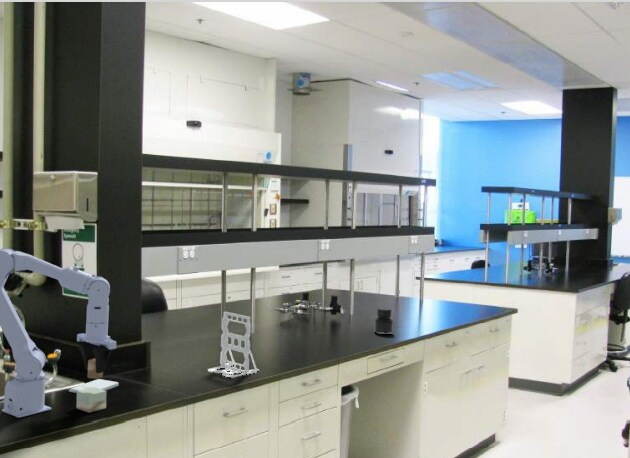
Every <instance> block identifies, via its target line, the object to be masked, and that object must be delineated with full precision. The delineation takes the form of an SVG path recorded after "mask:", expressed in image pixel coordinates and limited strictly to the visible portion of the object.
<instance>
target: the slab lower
mask: <svg viewBox="0 0 630 458" xmlns="http://www.w3.org/2000/svg"><path fill="white" fill-rule="evenodd" d="M75 408H76V409H77V410H81V411H83V412H87V413H92V412H97V411H101V410H104V409H106V408H107V399H106V400H104V401H100V402H96V403H92V404H86V403H83V402H81V401H78V400H77V399H76V407H75Z"/></svg>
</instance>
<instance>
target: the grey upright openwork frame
mask: <svg viewBox="0 0 630 458" xmlns="http://www.w3.org/2000/svg"><path fill="white" fill-rule="evenodd" d="M222 314H223V317H222V318H221V331H222V334H221V335H220V347H221V351H220V354H219V355H220V357H219V364H220V365H219V366H215V367H211V368H207V370H208V371H207V372H208V373H211V374H217V373H218V374H221V373H222V377H224V376H225V377H224V378H227V377H231V378H230V379H235V378H238V376H239V377H242V375H243V376H250V375H249V374H251V375H254V374H253V373H255V374H257V373H258V372H257V371H259V372H260V369H258V368H257V365H256V361H255V360H254V355H253V353H252V351H251V341H250V337H251V332H252V331H251V330H252V329H251V327H252V324H251V316H248V315H243V314H239V313H238V314H237V313H234V312H229V311H223V313H222ZM228 316H230V317H231V318H229V317H228ZM233 317H235V319H233ZM239 318H240V319H241V320H239ZM244 320H246V322H245V321H244ZM230 322H234V323H236V324H237V323H239V324H243V325H244V328H245V330H246V331H245V333H244V334H243V335H240V334H236V333H232V332H229V328H228V326H229V323H230ZM229 338H230V339H231V340H230V341H231V342H230V344H229ZM235 340H237V345H235ZM243 341H244V347H242V342H243ZM232 351H235V352H239V353H243V354H242V355H243V356H244V361H243V363H242V364H241V363H237V362H236V361H235V359H234V355H233V353H232ZM227 353H229V356H230V358H231V360H228V356H227ZM249 355H250V358H251V361H252V365H253V369H250V358H249ZM233 365H234V366H233ZM236 365H237V366H239V368H238V367H237V366H236ZM231 366H232V367H231ZM242 367H243V368H244V369H242ZM220 368H225V369H220ZM217 369H218V370H217ZM227 371H230V372H227ZM213 372H214V373H213ZM241 372H242V373H241ZM234 373H236V374H234ZM239 373H241V374H239ZM229 374H230V375H229ZM231 374H232V375H231ZM246 374H247V375H246Z"/></svg>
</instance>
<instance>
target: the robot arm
mask: <svg viewBox="0 0 630 458" xmlns="http://www.w3.org/2000/svg"><path fill="white" fill-rule="evenodd" d="M26 270H28V271H32V272H35V273H37V274H39V275H43V276H45V277H50V278H52V279H55V280H57V281H58V283H59V284H60V287H63V288H65V289H67V290H70V291H73V292H76V293H79V294H81V295H87V296H88V298H87V299H88V301H87V304H86V323H85V333H78V334H76V341H77V342H82V343H81V344H78V347H77V348H78V349H79V350H80V351H79V352H80V353H81V355H82V359H83V363H84V367H85V370H86V371H88V360H89V359H95V361H96V373H102V372H103V373H104V372H105V370H106V367H107V364H108V361H109V358H110V356H111V355H112V353H113V352H114V350H115V349H117V341H116V340H113V339H111V336H110V335H108V332H109V331H108V330H109V314H110V313H109V311H110V305H109V302H110V299H109V296H110V293H111V286H110V283H109V281H108V280H107V279H106V278H104V277H103V276H97V274H96V273H92V274H90V273H88V272H85V271H83V270H80V267H79V266H77V265H75V266H74V267H73V266H68V267H67V266H66V267H64V268H62V267H60V266H57V265H55V264H52V263H50V262H48V261H45V260H43V259H41V258H38V257H35V256H34V255H31V254H29V253H25V252H24V251H23V252H22V251H20V250H13V249H12V248H10V247H9V248H8V247H4V248H0V328H1V330H2V333H3V334H4V336H5V338H6V340H7V342H8V345H9V346H10V347H11V352H12V358H13V359H14V362H15V371H16V375H15V378H14V379H12V380H11V381H8V382H6V384H5V386H4V398H3V409H1V410H2V412H3V413H6V414H8V415H11V416H14V417H15V418H22V417H27V416H31V415H35V414H38V413H42V412H46V411H51V410H52V407H50V406H48V405H46V404H45V398H46V397H45V395H46V393H45V392H46V374H45V372H44V371H43V368H44V366H45V365H46V362H47V357H46V355H45V353H44V352H43V351H42V350H41V349H40V348H38V347H37V345H36V343H35V342H34V341H33V340H32V339H31V338H30V336H29V334H28V332H27V330H26V329H25V328H26V327H24V326H25V325H24V324H23V322H22V320H21V318H20V317H19V315H18V312H17V311H16V309H15V307H14V305H13V302H12V301H11V299H10V297H9V295H8V292H7V291H6V290H5V287H4V286H5V284H6V282H7V280H8V277H9V276H10V274H11V273H12V272H13V271H14V272H20V271H26Z"/></svg>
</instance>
